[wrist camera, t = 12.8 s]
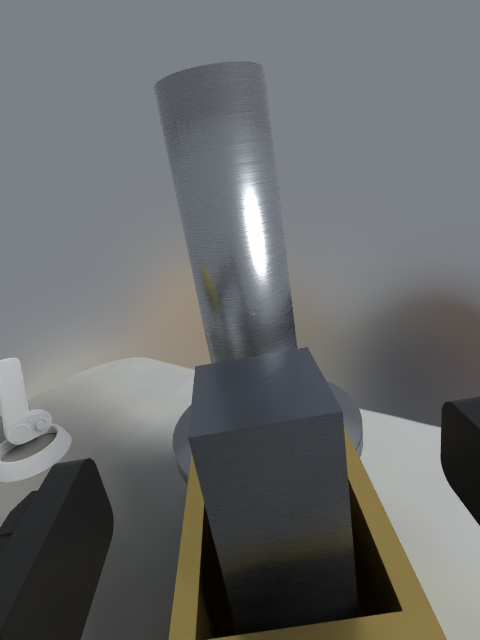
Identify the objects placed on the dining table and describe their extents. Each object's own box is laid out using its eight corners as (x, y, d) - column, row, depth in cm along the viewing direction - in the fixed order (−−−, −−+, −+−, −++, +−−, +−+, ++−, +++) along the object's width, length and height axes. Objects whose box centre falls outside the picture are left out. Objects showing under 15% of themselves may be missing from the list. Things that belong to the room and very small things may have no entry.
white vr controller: (47, 369, 47) (56, 348, 42) (70, 467, 44) (83, 458, 38) (-27, 383, 42) (-28, 362, 37) (-7, 494, 39) (-4, 488, 34)
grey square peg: (259, 650, 19) (195, 366, 14) (338, 636, 19) (307, 346, 14) (270, 765, 15) (187, 438, 10) (369, 748, 15) (342, 411, 10)
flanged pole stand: (207, 488, 31) (117, 120, 22) (341, 467, 31) (309, 86, 22) (184, 897, 13) (-356, -138, 4) (497, 856, 13) (701, -345, 4)
